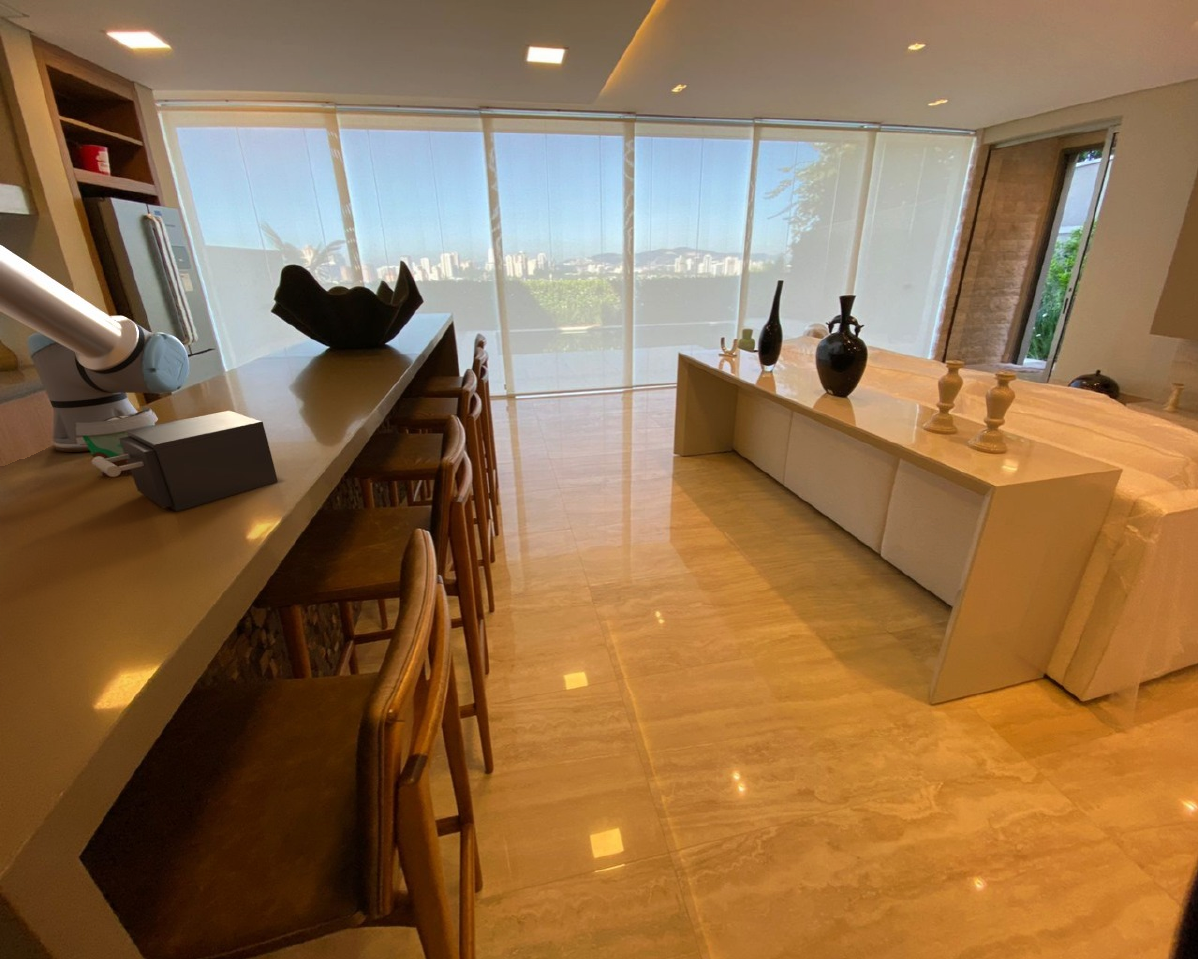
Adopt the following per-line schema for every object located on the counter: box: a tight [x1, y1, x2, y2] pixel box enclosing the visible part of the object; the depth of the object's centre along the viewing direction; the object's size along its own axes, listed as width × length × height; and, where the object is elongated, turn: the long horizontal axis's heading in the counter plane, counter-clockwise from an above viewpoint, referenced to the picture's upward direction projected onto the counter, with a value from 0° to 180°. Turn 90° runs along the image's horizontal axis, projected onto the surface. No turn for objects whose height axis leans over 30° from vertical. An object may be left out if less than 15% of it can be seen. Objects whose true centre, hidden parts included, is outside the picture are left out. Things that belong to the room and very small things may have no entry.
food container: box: [76, 406, 159, 477], centre depth 95 cm, size 12×6×10 cm, turn 168°
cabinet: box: [126, 410, 279, 513], centre depth 86 cm, size 15×13×11 cm
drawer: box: [91, 437, 173, 509], centre depth 83 cm, size 18×11×9 cm, turn 144°
